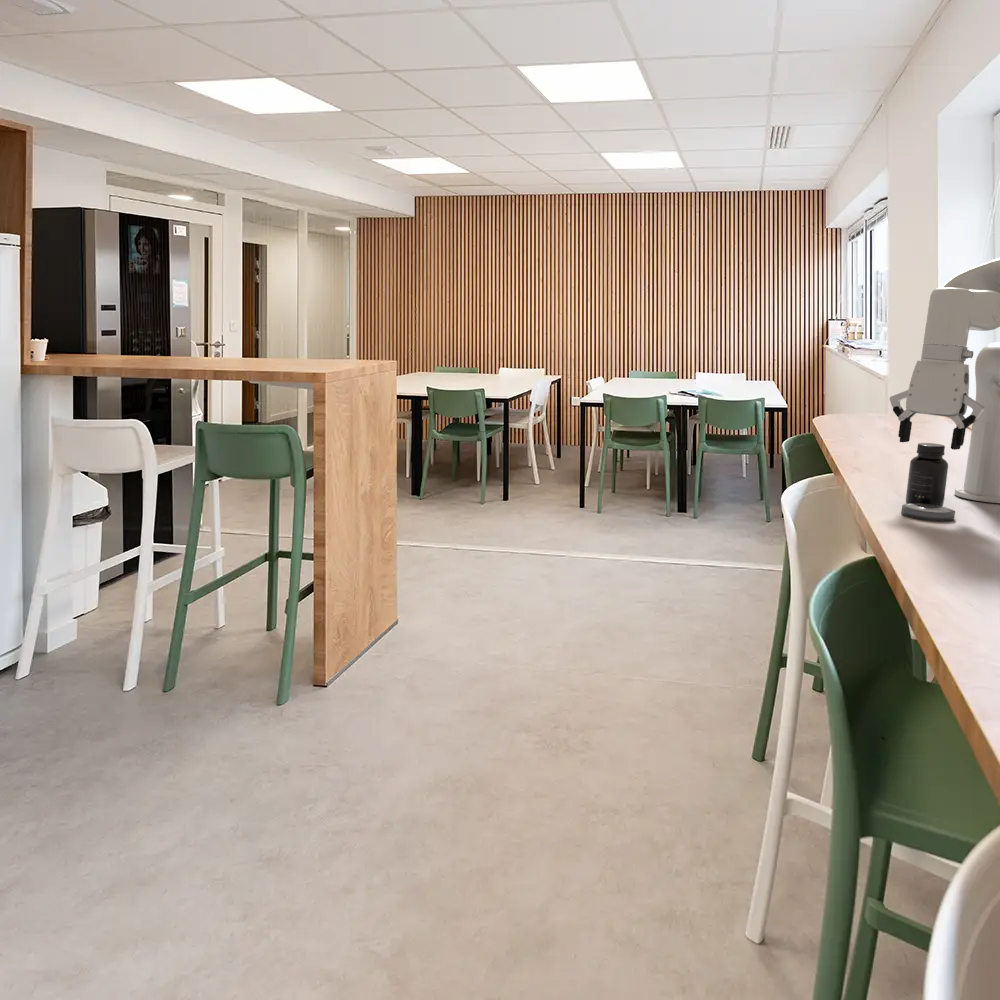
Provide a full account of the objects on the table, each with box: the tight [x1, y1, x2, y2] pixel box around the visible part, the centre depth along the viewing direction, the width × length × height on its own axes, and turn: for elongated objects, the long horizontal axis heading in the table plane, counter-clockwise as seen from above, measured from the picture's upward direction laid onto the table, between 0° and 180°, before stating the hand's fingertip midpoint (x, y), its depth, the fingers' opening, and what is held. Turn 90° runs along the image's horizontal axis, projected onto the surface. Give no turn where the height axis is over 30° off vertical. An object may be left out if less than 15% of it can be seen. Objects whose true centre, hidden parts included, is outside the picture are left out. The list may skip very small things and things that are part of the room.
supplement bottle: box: [905, 442, 949, 507], centre depth 195 cm, size 7×7×12 cm
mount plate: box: [900, 503, 956, 523], centre depth 186 cm, size 9×9×2 cm
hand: (929, 445), depth 193 cm, fingers open, 9 cm apart
